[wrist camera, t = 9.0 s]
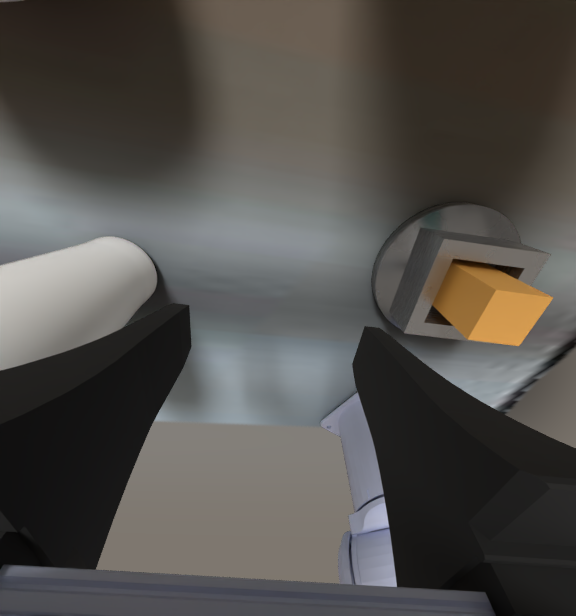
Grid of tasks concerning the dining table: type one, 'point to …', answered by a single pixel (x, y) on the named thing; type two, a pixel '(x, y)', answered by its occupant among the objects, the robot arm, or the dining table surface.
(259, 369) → the dining table surface
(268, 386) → the dining table surface
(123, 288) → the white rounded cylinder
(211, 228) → the dining table surface
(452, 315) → the orange block
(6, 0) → the lidded bowl
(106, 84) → the dining table surface
